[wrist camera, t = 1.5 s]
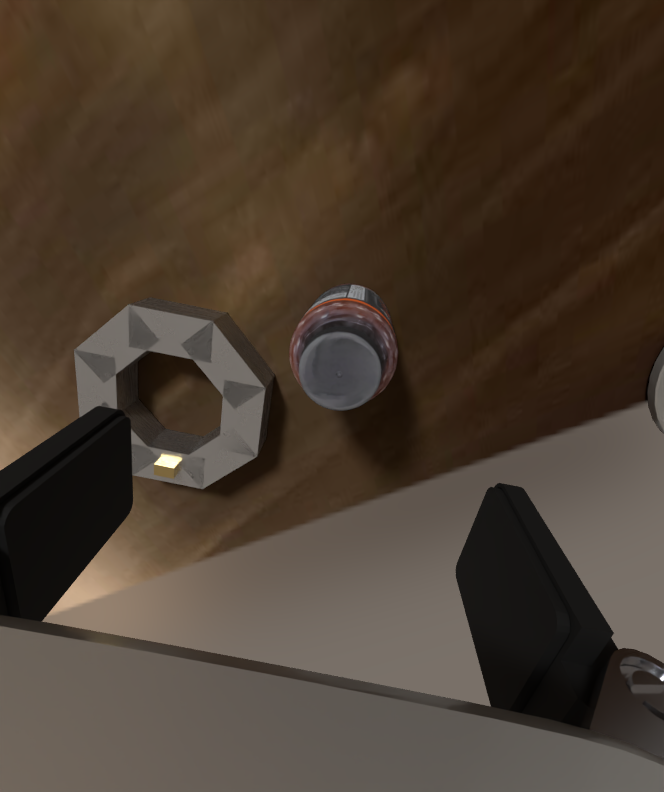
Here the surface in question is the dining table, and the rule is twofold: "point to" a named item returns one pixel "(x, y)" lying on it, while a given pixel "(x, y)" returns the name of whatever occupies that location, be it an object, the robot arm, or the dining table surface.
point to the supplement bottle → (344, 348)
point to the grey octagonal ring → (215, 355)
